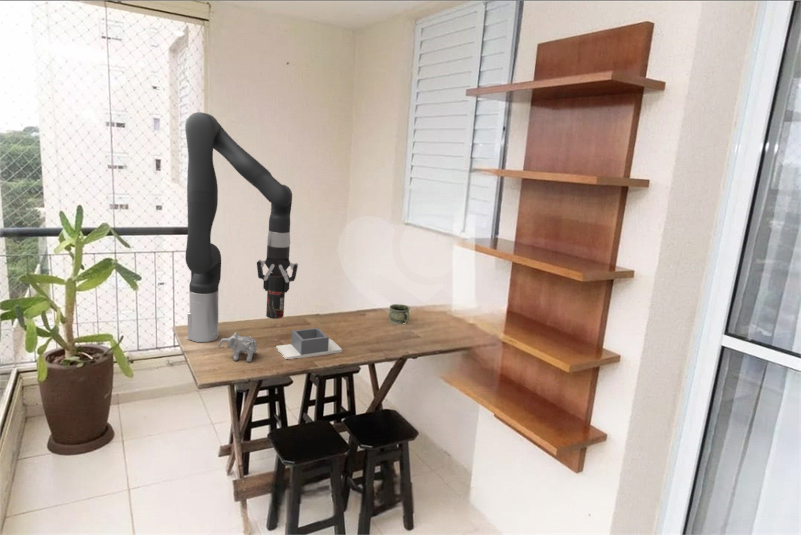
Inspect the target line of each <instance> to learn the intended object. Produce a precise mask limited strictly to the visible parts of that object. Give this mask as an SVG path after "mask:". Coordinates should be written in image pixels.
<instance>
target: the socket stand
mask: <svg viewBox="0 0 801 535" xmlns="http://www.w3.org/2000/svg"><path fill="white" fill-rule="evenodd" d="M275 348H277V349H278V350H277V349H276V350H277V351H278V353H279V352H280V353H281V354H282V355H283V356H282V355H281V354H280V353H279V354H280V355H281V356H282V357H284V358H285V359H291V360H294V359H293V358H298V359H304V358H310V357H318V356H325V355H332V354H338V353H343V349H342V348H341V346H339V345H338V344H337V343H336V342H335V341H333V340H332V339H331V338H330V337H329V336H328V335H326V333H325V332H324V331H322V330H321V329H320V328H319V327H313V328H303V329H294V330H292V331H291V343H289V344H281V345H276V347H275ZM284 358H283V359H284ZM285 359H284V360H285Z"/></svg>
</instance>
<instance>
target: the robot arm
mask: <svg viewBox="0 0 801 535" xmlns="http://www.w3.org/2000/svg"><path fill="white" fill-rule="evenodd" d="M184 128H185V129H184V130H185V138H186V146H187V158H188V160H187V177H186V178H187V180H186V181H187V184H186V185H187V186H186V190H187V191H186V193H187V194H186V198H187V199H186V204H187V239H186V240H187V241H186V248H185V264H186V265H187V268H188V269H189V270H190V272H192V273H193V275H192V277H191V280H190V281H189V284H188V285H189V311H188V313H187V341H193V342H197V343H208V342H213V341H215V340H217V339H218V338H219V285H220V283H221V277H222V276H221V274H222V254H221V251H220V249H219V248H218V246H217V245H215V244H214V243H212V242H211V234H212V228H213V224H214V221H215V218H216V215H217V214H216V213H217V210H218V205H219V204H218V201H219V198H218V197H219V196H218V195H219V191H218V190H219V189H218V179H217V175H216V170H215V166H214V159H213V158H214V150H215V151H216V152H218V154H220V155H221V156H222V157H223V158H224V159H225V160H226V161H227V162H229V164H230V165H231V166H232V167H233V168H234V170H236V172H237V173H238V174H239V175H240V176H241V177H242V178H244V179H245V180H246V181H247V182H248V183H249V184H251V185H252V187H254V188H255V189H256V190H258V191H259V193H260V194H261V195H262V196H264V198H265V199H266V200H267V202H269V203H270V215H269V220H268V232H267V240H266V242H267V243H266V244H267V245H266V259H265V260H261V259H258V260H257V261H256V269H257V270H256V271H257V278H258V279H261V280H262V281H263V284H262V286H263V287H262V288H263V290H264V291H265V292H267V289H268V276H269V275H270V274H271V273H279V274H281V273H282V275H283V277H284V279H285V289H284V293H285V294H287V292H288V291H289V290H290V283H291V282H294V281H295V280H296V277H297V273H298V272H297V271H298V268H299V264H298V263H297V262H296V263H293V262H291V261H290V253H291V252H290V248H291V247H290V246H291V211H292V204H293V193H292V192H293V191H292V190H291V188H290V187H289V186H288V185H286V184H282V183H281V182H280V181H278V179H276V178H275V177H274V176H273V175H272V173H271V172H270V171H269V169H267V168H266V167H265V166H264V165H263V164H262V163H260V162H259V161H258V160H257V159H256V158H254V156H252V155H251V154H250V153H249V152H247V151H246V150H245V149H244V148H243V147H241V146H240V145H239V144H238V143H237V142H236V141H235V140H234V138H232V137H231V135H229V134H228V133H227V131H226V130H225V129H224V127H223V126H222V125H221V124H220V123H219V121H218V120H217V119H216V118H215V117H214V116H213V115H211V114H210V113H207V112H206V113H205V112H200V111H198V112H193V113H191V114H190V115H189V116H188V117H187V119H186V122H185V126H184ZM265 266H266V268H267V271H266V273H265V274H264V272H263V267H265ZM288 268H290V270H292V272H291V276H290V275H289V273H288V270H287V269H288Z"/></svg>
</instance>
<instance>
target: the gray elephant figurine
mask: <svg viewBox="0 0 801 535" xmlns="http://www.w3.org/2000/svg"><path fill="white" fill-rule="evenodd" d="M223 342H226V343H227V346H228V348H230V349H232V355H233V358H232V359H233V361H238V360H239V359H240V357H239V355H241V354H245V353H246V354H247V356H246V362H248V363H251V362H252V359H253V355H256V353H257V350H258V346H257V344H258V342H257V341H256V339H255V338H254V337H252V336H251V335H250V336H241V335H239V334H238V332H237V331H235V332H234V334H232V335H231V336H230V337H224V338H221V339H220V340H219V343H217V347H218V348H220V347H221V344H222V343H223Z"/></svg>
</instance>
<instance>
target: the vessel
mask: <svg viewBox="0 0 801 535" xmlns="http://www.w3.org/2000/svg"><path fill="white" fill-rule="evenodd" d="M410 310H411V308H410V306H409V305H405V304H403V303H402V304H401V303H400V304H399V303H396V304H390V305H389V311H388V318H389V322H390V324H392V325H393V324H394V325H398V324H403V323H406V324H408V321H409V320H410ZM406 324H405V325H406ZM403 325H404V324H403Z"/></svg>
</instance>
